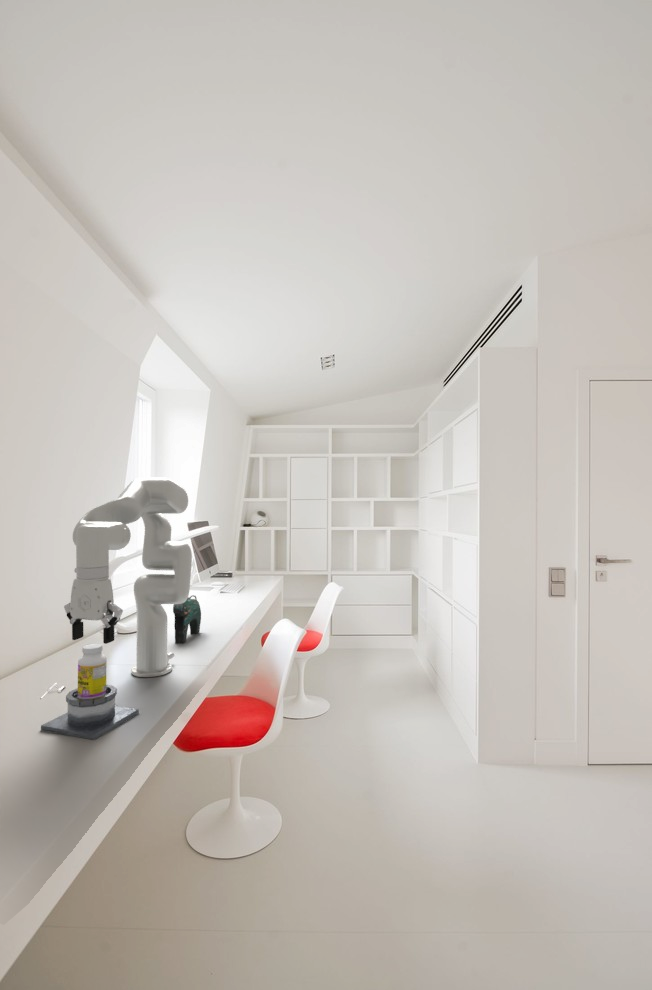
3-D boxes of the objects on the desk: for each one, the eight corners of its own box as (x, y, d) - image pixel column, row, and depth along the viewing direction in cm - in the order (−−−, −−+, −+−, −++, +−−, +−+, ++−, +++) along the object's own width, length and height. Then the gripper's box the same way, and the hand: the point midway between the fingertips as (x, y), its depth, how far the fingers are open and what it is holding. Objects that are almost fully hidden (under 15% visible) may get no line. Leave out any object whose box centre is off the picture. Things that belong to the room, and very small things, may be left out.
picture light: (55, 684, 163) (55, 677, 163) (70, 683, 163) (70, 677, 163) (38, 701, 149) (38, 694, 149) (55, 701, 150) (55, 693, 150)
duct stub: (89, 706, 144) (89, 678, 144) (138, 713, 139) (138, 685, 139) (40, 730, 129) (41, 699, 129) (94, 739, 124) (94, 708, 124)
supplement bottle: (72, 697, 134) (73, 646, 134) (98, 690, 139) (98, 641, 139) (85, 704, 130) (86, 651, 130) (111, 696, 135) (111, 645, 135)
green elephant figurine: (184, 645, 205) (184, 593, 205) (168, 644, 206) (168, 592, 206) (203, 632, 225) (204, 585, 225) (189, 631, 226) (189, 584, 226)
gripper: (54, 573, 134) (54, 641, 134) (110, 577, 128) (110, 648, 129) (76, 569, 141) (77, 633, 141) (131, 572, 135) (131, 639, 136)
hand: (93, 640), depth 135 cm, fingers open, 9 cm apart
